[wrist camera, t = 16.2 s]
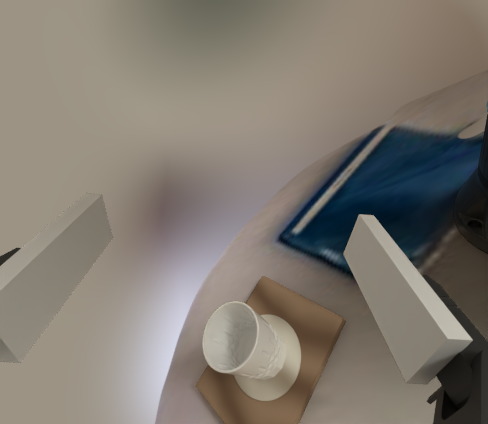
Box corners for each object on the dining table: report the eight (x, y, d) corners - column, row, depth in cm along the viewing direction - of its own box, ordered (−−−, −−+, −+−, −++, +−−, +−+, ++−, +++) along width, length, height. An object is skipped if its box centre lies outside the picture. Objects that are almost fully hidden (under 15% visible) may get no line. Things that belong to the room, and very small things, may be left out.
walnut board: (266, 279, 45) (262, 274, 44) (345, 321, 35) (342, 317, 34) (201, 387, 39) (194, 385, 38) (273, 478, 29) (266, 479, 27)
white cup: (300, 366, 32) (269, 348, 26) (252, 397, 33) (209, 387, 27) (275, 313, 38) (244, 289, 32) (234, 341, 39) (196, 322, 33)
